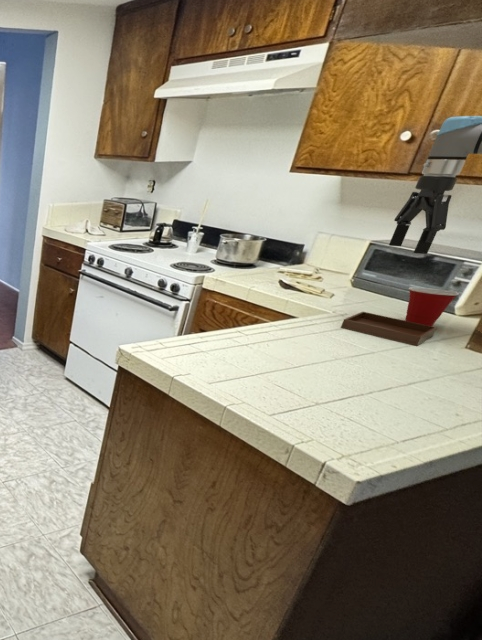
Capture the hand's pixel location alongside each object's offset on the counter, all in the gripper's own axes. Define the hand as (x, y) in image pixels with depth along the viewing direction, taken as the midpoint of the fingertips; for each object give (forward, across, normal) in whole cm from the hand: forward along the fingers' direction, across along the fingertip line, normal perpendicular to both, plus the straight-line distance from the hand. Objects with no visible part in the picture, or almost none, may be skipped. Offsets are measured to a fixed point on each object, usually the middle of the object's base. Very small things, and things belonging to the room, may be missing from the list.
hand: (406, 249), depth 143 cm
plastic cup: (+24, -3, +12) cm, 27 cm away
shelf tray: (+24, +9, -1) cm, 26 cm away
